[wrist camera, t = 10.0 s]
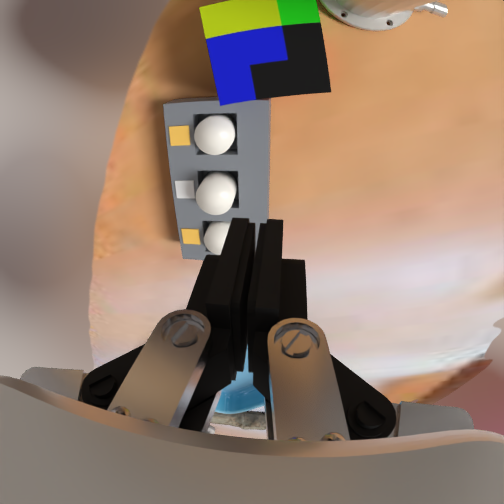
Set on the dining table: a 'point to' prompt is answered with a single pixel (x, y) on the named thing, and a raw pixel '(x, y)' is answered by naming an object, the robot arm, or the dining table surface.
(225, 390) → the casserole dish
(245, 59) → the puzzle toy
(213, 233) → the button
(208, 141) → the button
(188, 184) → the button board
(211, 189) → the middle button
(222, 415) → the long grey stone
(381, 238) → the dining table surface
